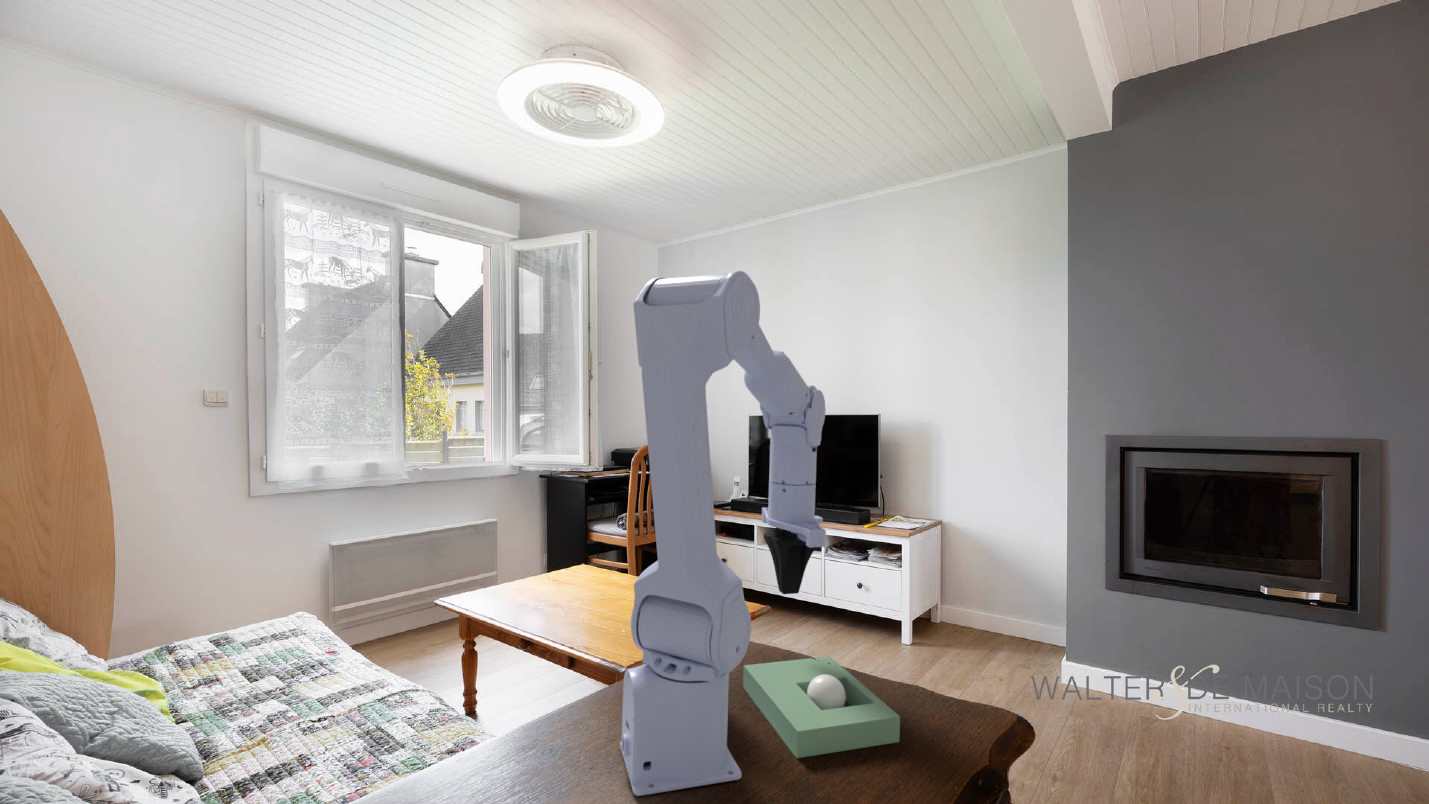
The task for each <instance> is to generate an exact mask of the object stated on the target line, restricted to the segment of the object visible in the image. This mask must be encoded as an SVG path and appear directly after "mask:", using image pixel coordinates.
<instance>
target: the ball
mask: <svg viewBox="0 0 1429 804" xmlns="http://www.w3.org/2000/svg"><path fill="white" fill-rule="evenodd" d="M807 696H808V697H809V698H810V699H811V700H812V701H813V702H814V703H815V704H816V705H817V706H818V707H819V708H820V709H821V710H827V709H834V708H842V707H844V704H845V703H846V701H845V700H846V694H845V690H844V687H843V685H842V684H841V682H840V681H839V680H838V679H837V678H835V677H833V676H831V675H827V674H823V675H819V676H817V677H815V678H814V679H813V680H812V681H811V682H810V684H809V686H808V689H807Z"/></svg>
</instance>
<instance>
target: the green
mask: <svg viewBox="0 0 1429 804" xmlns="http://www.w3.org/2000/svg"><path fill="white" fill-rule="evenodd" d="M812 658H813V657H810V658H809V657H807V658H801V659H790V660H781V661H780V660H779V661H773V662H772V661H771V662H765V663H764V662H763V663H755V664H753V663H752V664H745V665H744V664H743V671H742V674H743V676H742V677H743V678H742V679H743V680H742V688H743V689H744V691H745V693H747V694H748V696H749V697H750V698H751V700H752V701H753V703H754V704H755V705H756V706H757V708H758V709H759V710H760V713H762V715H763V716H764V717H765V718H766V720H767V721H768V722H769V723H770V725H771V726H772V728H773V729H774V730H775V732H776V733H777V735H779V737H780V739H781V740H782V741H783V742H784V744H785V745H786V747H788V748H787V749H788V750H789V751H791V754H793V756H794V757H795V758H796V759H800V758H801V759H802V758H807V757H808V758H809V757H813V756H819V755H825V754H833V753H839V752H845V751H850V750H858V749H863V748H868V747H876V746H883V745H889V744H896V743H900V734H901V733H900V731H901V729H900V727H901V716H900V715H899V714H898V713H897V712H896V711H894V710H893V709H892V708H891V707H889V705H887V704H886V703H885V702H884V701H883V700H882V699H880V697H878V696H877V695H876V694H874V693H873V692H872V691H871V690H870V689H869V688H868V687H866V686H865V685H864V684H863V683H861V681H859V680H858V679H857V678H856V677H855V676H853V675H852V674H851V673H850V671H848V670H847V669H846V668H844V667H843V666H842V665H840V664H839V662H837V661H836V660H835V659H834V658H832V657H831V656H827V655H826V656H820V657H814V658H815V659H816V660H815V659H812ZM818 660H819V661H818ZM828 663H830V664H828ZM835 665H836V666H835ZM842 667H843V668H842ZM823 674H827V675H831V676H833V677H835V678H837V679H838V680H839V681H840V682H841V684H842V685H843V687H844V690H845V694H846V700H845V704H844V707H842V708H834V709H827V710H821V709H820V708H819V707H818V706H817V705H816V704H815V703H814V702H813V701H812V700H811V699H810V698H809V697H808V696H807V689H808V686H809V684H810V682H811V681H812V680H813V679H814V678H815V677H817V676H819V675H823ZM846 702H847V703H846Z"/></svg>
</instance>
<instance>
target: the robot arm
mask: <svg viewBox="0 0 1429 804" xmlns="http://www.w3.org/2000/svg"><path fill="white" fill-rule="evenodd" d="M636 297H637V298H636V299H635V300H634V302H633V311H634V312H633V315H634V325H635V326H634V327H635V337H636V347H637V348H636V350H637V359H638V366H639V367H640V368H641V380H642V391H643V403H644V414H645V416H644V417H645V427H646V439H647V450H648V462H649V473H650V484H651V495H652V507H653V508H652V509H653V518H654V519H653V520H654V530H655V531H654V532H655V542H656V552H657V553H656V555H657V560H656V561H655V562H653V563H652V564H651V565H649V566H647V568H645V569H644V570H643V571H642V572H641V573H640V575H639V576H638V577H637V578H636V580H635V581H634V583H633V589H634V590H633V591H634V599H633V600H634V602H633V607H632V610H631V611H632V612H631V617H630V630H631V632H630V633H631V637H632V640H633V643H634V644H635V646H636V648H638V649H639V650H641V651H642V663H644V664H642V665H639V666H635V667H631V668H628V669H626V670H625V672H624V676H623V684H622V685H623V686H622V687H623V688H622V711H621V712H622V713H621V714H622V715H621V716H622V717H621V718H622V719H621V720H622V721H621V741H620V743H619V744H620V745H619V747H620V750H621V754H622V757H623V761H624V765H625V767H626V771H627V775H628V779H629V782H630V786H631V789H632V793H633V794H634V795H635V796H637V797H641V796H646V795H648V796H649V795H652V794H658V793H664V792H671V791H676V790H683V789H688V788H694V787H701V786H707V785H713V784H720V783H726V782H731V781H738V780H740V779H741V778H742V775H743V774H742V771H741V769H740V766H739V765H738V764H737V762H736V760H735V759H734V757H733V755H732V753H731V752H730V750H729V748H728V720H729V719H728V718H729V717H728V715H729V714H728V713H729V712H728V711H729V687H730V685H729V684H730V679H729V678H730V672H733V670H735V668H736V667H737V666H739V664H740V663H741V662H742V661H743V658H745V655H746V653H747V651H748V647H749V645H750V640H751V633H752V617H751V613H750V611H749V608H748V605H747V603H746V599H745V596H744V588H743V581H742V578H740V576H739V575H738V574H737V573H736V572H734V571H733V570H732V569H731V568H730V567H729V565H728V564H726V562H724V561H723V560H722V559H721V558H720V557H719V556H718V552H717V538H716V523H715V522H716V520H715V508H714V494H713V493H714V492H713V479H712V466H711V465H712V463H711V462H712V461H711V449H710V437H709V421H708V420H709V419H708V408H707V407H708V405H707V403H708V402H707V390H706V389H707V388H706V387H707V383H708V381H709V380H710V378H711V377H712V375H713V374H714V373H716V372H718V371H720V370H723V369H725V368H727V367H728V366H729V365H730V364H731V363H732V362H733V361H735V362H736V363H737V364H738V365H739V366H740V367H741V368H742V369H743V370H744V374H743V375H744V376H743V377H744V378H743V380H744V384H745V387H746V388H747V389H748V391H749V393H750V394H751V395H752V396H753V397H754V399H756V401H757V402H758V403H759V409H760V411H761V414H762V420H763V423H764V424H763V425H764V426H765V428H766V429H768V430H770V438H769V441H770V444H769V468H768V469H769V475H768V477H769V478H768V503H767V504H768V507H761V522H762V523H764V524H767V525H768V526H769V527H773V528H775V530H774V531H773V532H765V533H764V534H763V539H764V541H765V543H766V544H767V548H768V550H769V553H770V555H771V558H772V562H773V566H774V567H773V568H774V571H775V577H776V582H777V587H778V591H779V593H781V594H782V595H792V594H794V595H795V594H799V593H800V589H801V586H802V582H803V578H804V574H805V571H806V568H807V566H808V563H809V561H810V558H811V557H812V555H813V554H814V551H815V550H816V549H817V548H824V547H826V537H827V536H826V535H827V531H826V529H824V528H822V526H821V524H823V523H824V521H823V520H824V518H823V517H822V516H819V515H815V513H816V512H815V511H816V510H815V509H816V486H817V485H816V482H817V457H818V456H817V454H818V453H817V452H818V446H820V445H821V441H822V431H823V426H824V424H825V420H826V419H825V417H826V400H825V395H824V393H823V391H822V390H820V389H817V387H816V386H814V385H807V383H806V381H805V380H804V379H803V377H802V375H801V374H800V373H799V371H798V369H797V368H796V367H795V364H793V362H792V360H791V359H790V357H789V356H788V355H786V353H785V352H784V351H779V350H773V348H772V347H771V344H770V343H769V341H768V340H767V337H766V336H765V334H764V332H763V329H762V328H761V326H760V316H761V303H760V296H759V292H758V289H757V287H756V285H755V283H754V282H753V280H752V278H751V277H750V276H749V275H748V273H746V272H745V271H742V270H733V271H732V272H729V273H720V274H719V273H718V274H707V275H695V276H694V275H693V276H691V275H690V276H685V277H684V276H683V277H668V278H666V277H660V276H659V277H653V278H652V279H649V280H648V282H646V284H645V285H644V286H643V288H642V289H641V291H640V293H639V294H638V295H637V296H636Z"/></svg>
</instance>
